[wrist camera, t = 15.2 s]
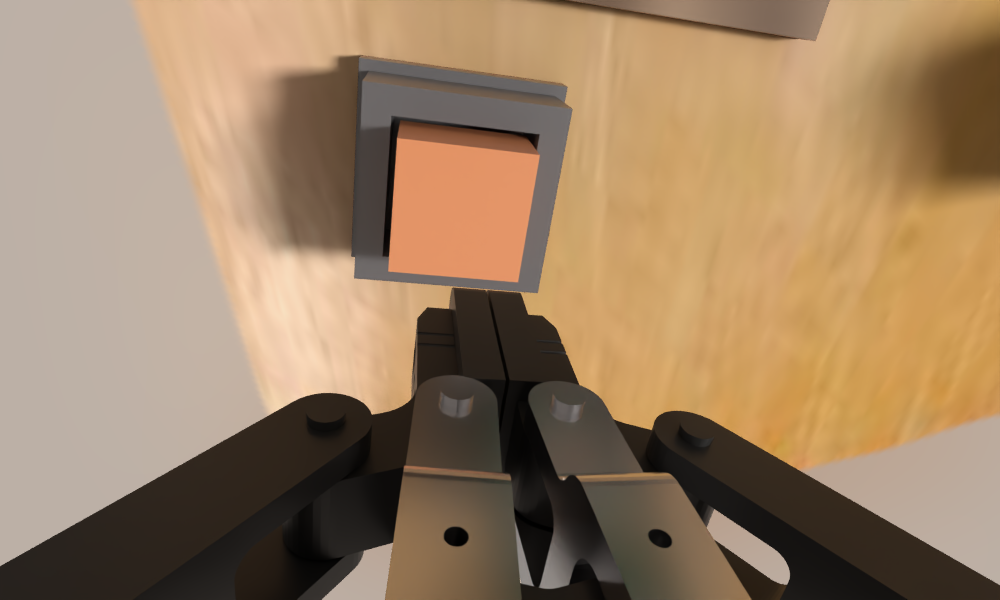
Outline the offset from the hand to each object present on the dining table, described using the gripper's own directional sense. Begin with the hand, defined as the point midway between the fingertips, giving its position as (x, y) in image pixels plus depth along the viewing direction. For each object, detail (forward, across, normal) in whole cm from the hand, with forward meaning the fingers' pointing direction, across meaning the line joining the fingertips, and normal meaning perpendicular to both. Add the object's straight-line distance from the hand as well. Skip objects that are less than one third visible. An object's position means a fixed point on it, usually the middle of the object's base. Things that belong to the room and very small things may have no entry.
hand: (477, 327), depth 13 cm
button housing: (+14, 0, 0) cm, 14 cm away
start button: (+11, 0, 0) cm, 11 cm away
